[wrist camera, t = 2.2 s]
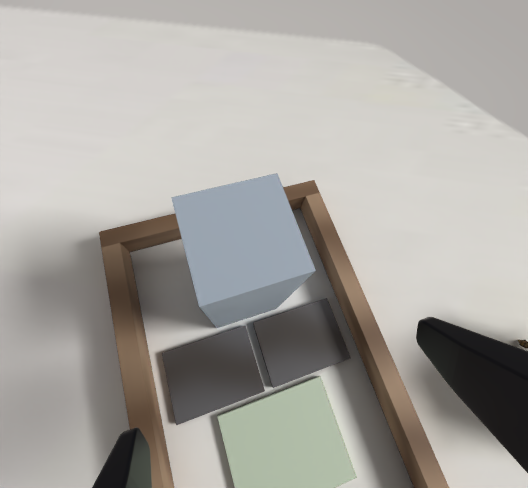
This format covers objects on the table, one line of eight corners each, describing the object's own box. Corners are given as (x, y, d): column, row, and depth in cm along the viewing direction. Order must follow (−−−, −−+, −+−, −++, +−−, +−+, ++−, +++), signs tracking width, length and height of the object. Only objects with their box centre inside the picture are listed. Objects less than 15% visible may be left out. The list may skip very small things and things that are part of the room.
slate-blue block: (276, 308, 21) (315, 270, 11) (216, 328, 20) (199, 306, 10) (257, 253, 22) (277, 173, 12) (201, 269, 22) (171, 197, 11)
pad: (354, 474, 18) (356, 477, 18) (245, 526, 17) (245, 531, 16) (319, 376, 20) (320, 376, 19) (217, 415, 18) (217, 416, 18)
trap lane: (460, 552, 17) (488, 577, 15) (189, 711, 14) (182, 767, 12) (307, 192, 25) (314, 180, 23) (110, 242, 22) (98, 231, 20)
